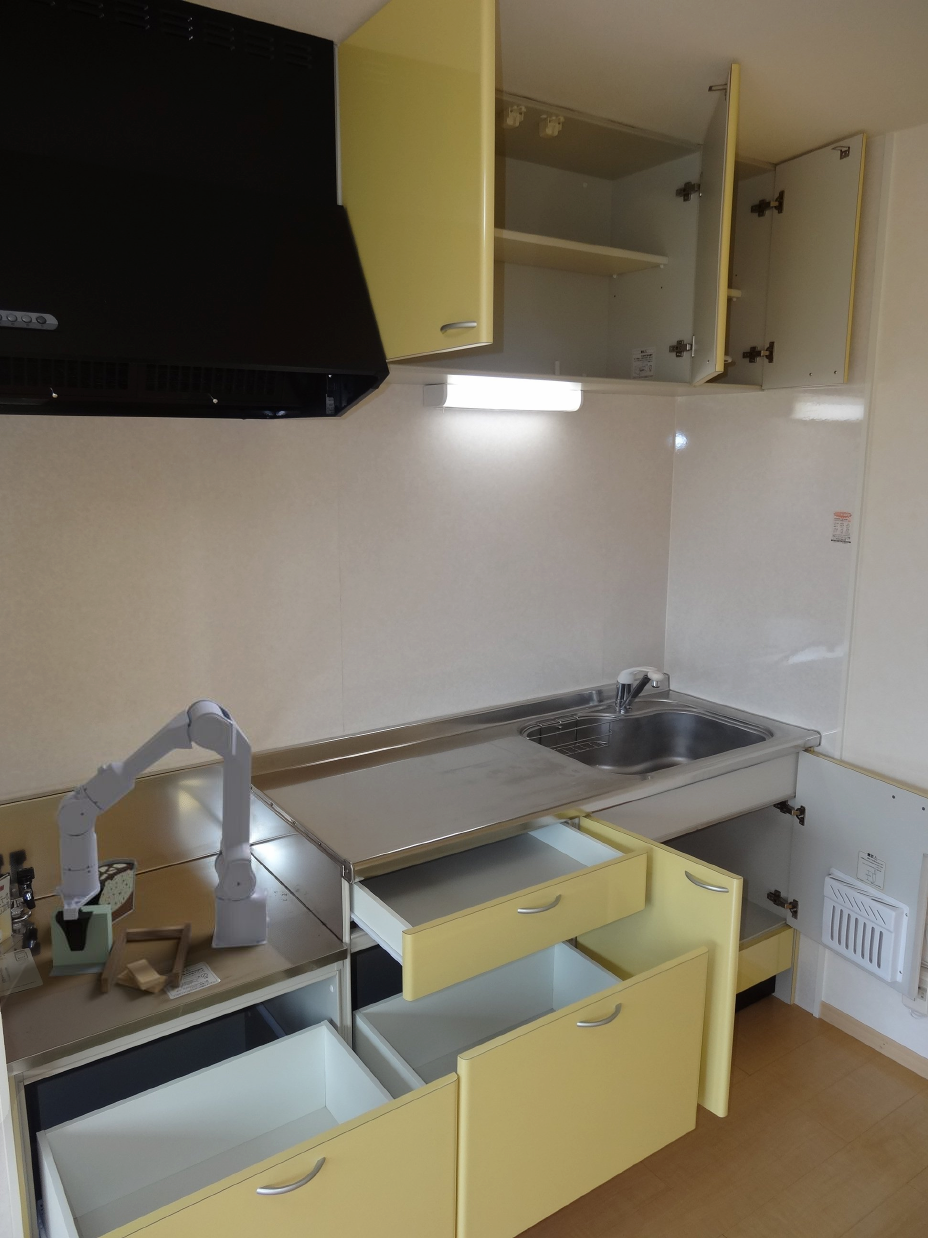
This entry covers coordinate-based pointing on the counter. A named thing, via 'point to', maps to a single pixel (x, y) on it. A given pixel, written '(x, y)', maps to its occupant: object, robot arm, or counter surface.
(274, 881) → the counter surface
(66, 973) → the slate mat
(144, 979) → the offcut top
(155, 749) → the robot arm
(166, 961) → the counter surface
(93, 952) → the sage panel
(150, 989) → the offcut middle
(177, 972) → the walnut rack
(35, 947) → the counter surface
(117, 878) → the food container
